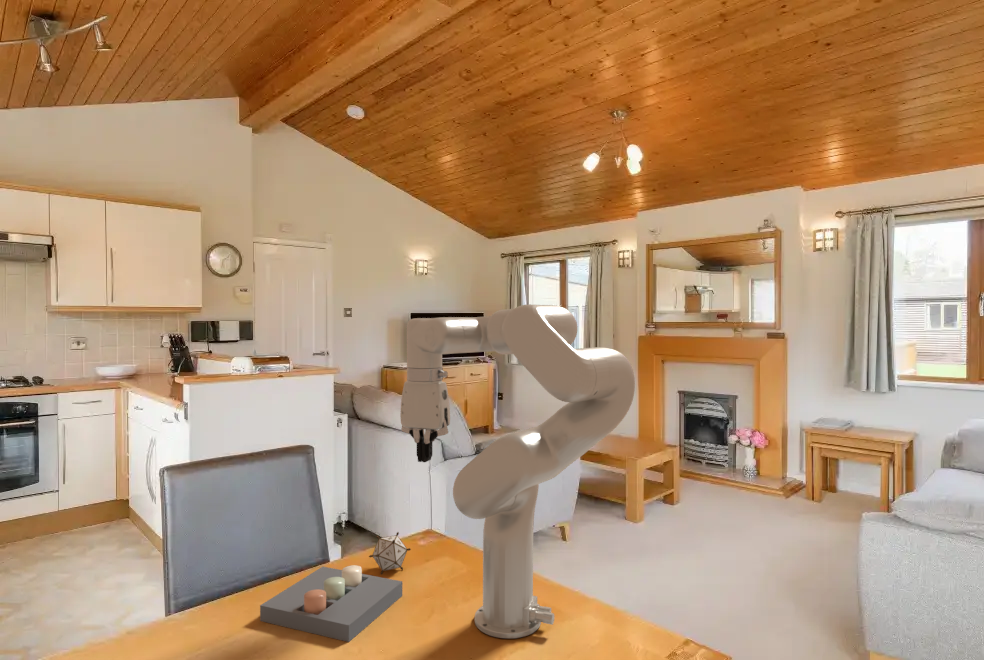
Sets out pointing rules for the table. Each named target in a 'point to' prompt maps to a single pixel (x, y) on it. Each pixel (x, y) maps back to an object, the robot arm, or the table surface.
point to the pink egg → (315, 601)
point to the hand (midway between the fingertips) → (424, 460)
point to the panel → (332, 605)
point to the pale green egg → (334, 588)
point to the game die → (389, 553)
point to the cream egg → (352, 575)
